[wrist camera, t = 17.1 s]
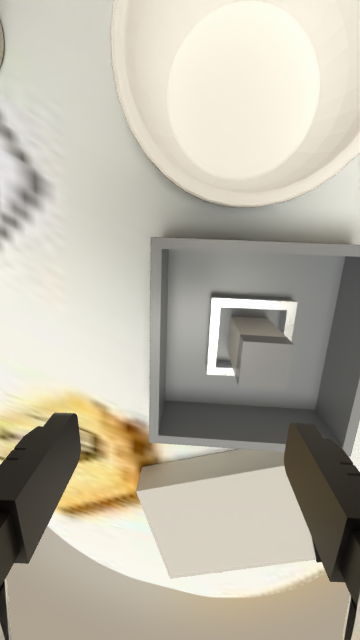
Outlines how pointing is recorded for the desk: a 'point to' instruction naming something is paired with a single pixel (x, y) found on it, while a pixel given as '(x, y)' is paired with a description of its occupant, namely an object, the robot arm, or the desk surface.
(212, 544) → the disc drive
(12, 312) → the desk surface
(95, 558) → the desk surface
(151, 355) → the box
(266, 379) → the block
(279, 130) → the bowl
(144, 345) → the desk surface
